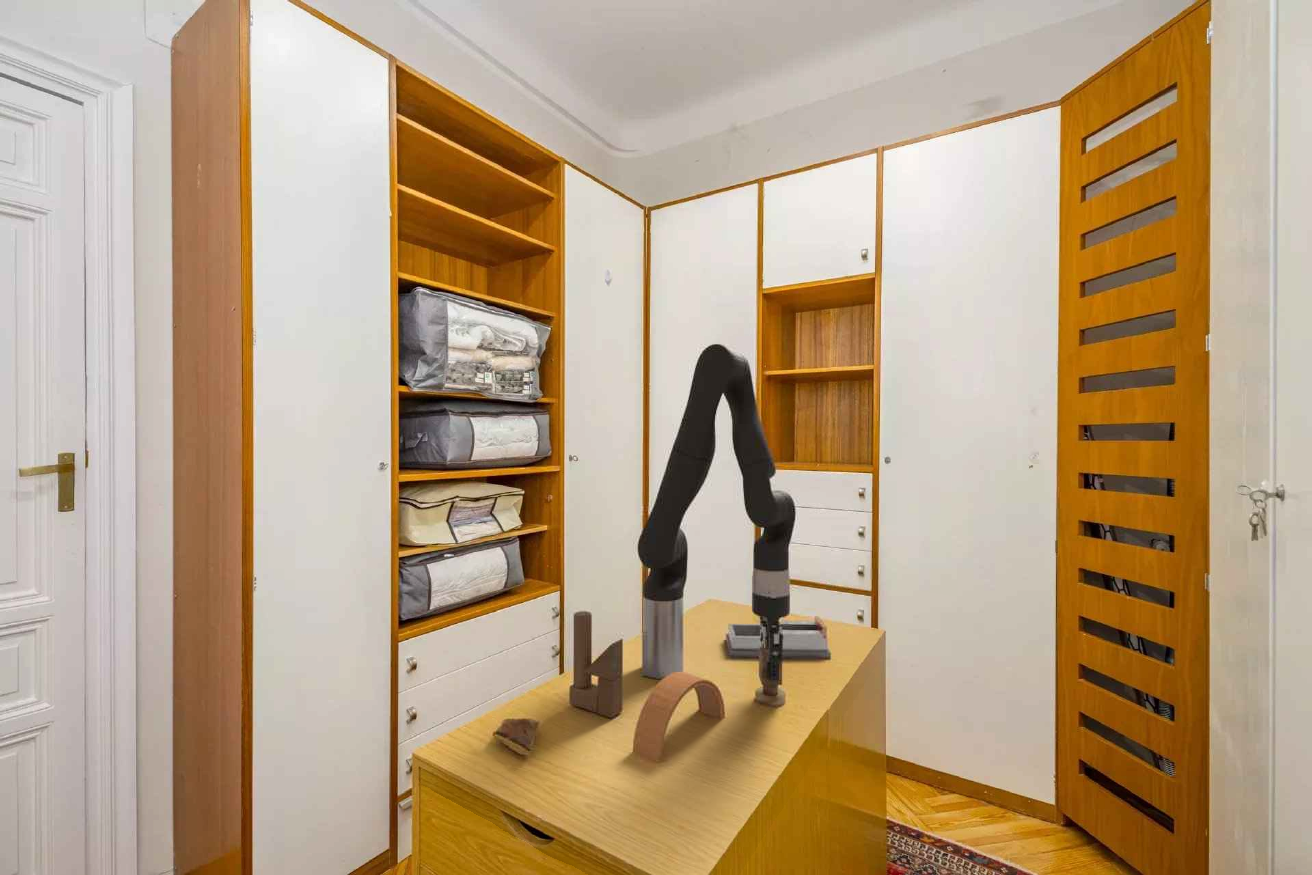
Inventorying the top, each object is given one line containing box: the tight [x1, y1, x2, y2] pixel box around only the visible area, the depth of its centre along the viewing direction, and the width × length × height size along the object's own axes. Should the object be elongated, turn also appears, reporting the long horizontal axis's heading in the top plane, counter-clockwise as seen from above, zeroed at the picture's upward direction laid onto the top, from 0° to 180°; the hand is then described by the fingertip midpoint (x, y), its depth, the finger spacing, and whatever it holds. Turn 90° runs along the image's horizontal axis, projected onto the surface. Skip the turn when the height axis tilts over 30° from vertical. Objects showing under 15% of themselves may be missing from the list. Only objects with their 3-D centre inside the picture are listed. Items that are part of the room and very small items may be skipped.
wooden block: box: [568, 610, 624, 719], centre depth 114 cm, size 4×11×18 cm, turn 57°
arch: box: [632, 671, 726, 764], centre depth 104 cm, size 6×20×10 cm, turn 140°
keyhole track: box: [725, 615, 832, 660], centre depth 145 cm, size 24×12×7 cm, turn 88°
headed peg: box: [754, 647, 786, 708], centre depth 117 cm, size 6×6×10 cm
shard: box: [492, 718, 540, 758], centre depth 100 cm, size 11×8×2 cm
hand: (770, 673), depth 117 cm, fingers open, 5 cm apart
